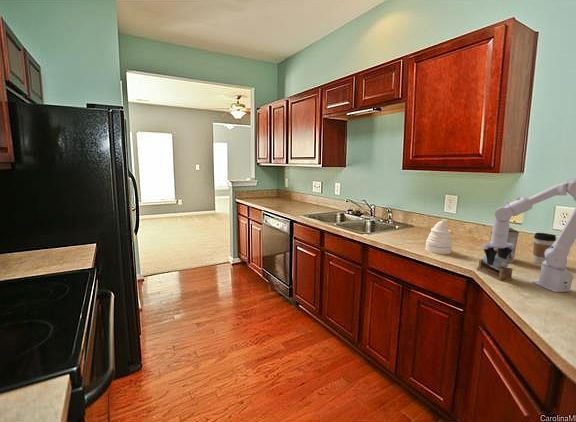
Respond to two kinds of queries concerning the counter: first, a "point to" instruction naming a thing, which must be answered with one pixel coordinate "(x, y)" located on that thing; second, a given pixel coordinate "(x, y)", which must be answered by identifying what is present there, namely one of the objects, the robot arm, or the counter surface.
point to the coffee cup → (542, 246)
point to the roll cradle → (495, 271)
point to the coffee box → (512, 239)
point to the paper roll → (497, 262)
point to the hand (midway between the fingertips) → (495, 263)
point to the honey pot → (439, 239)
